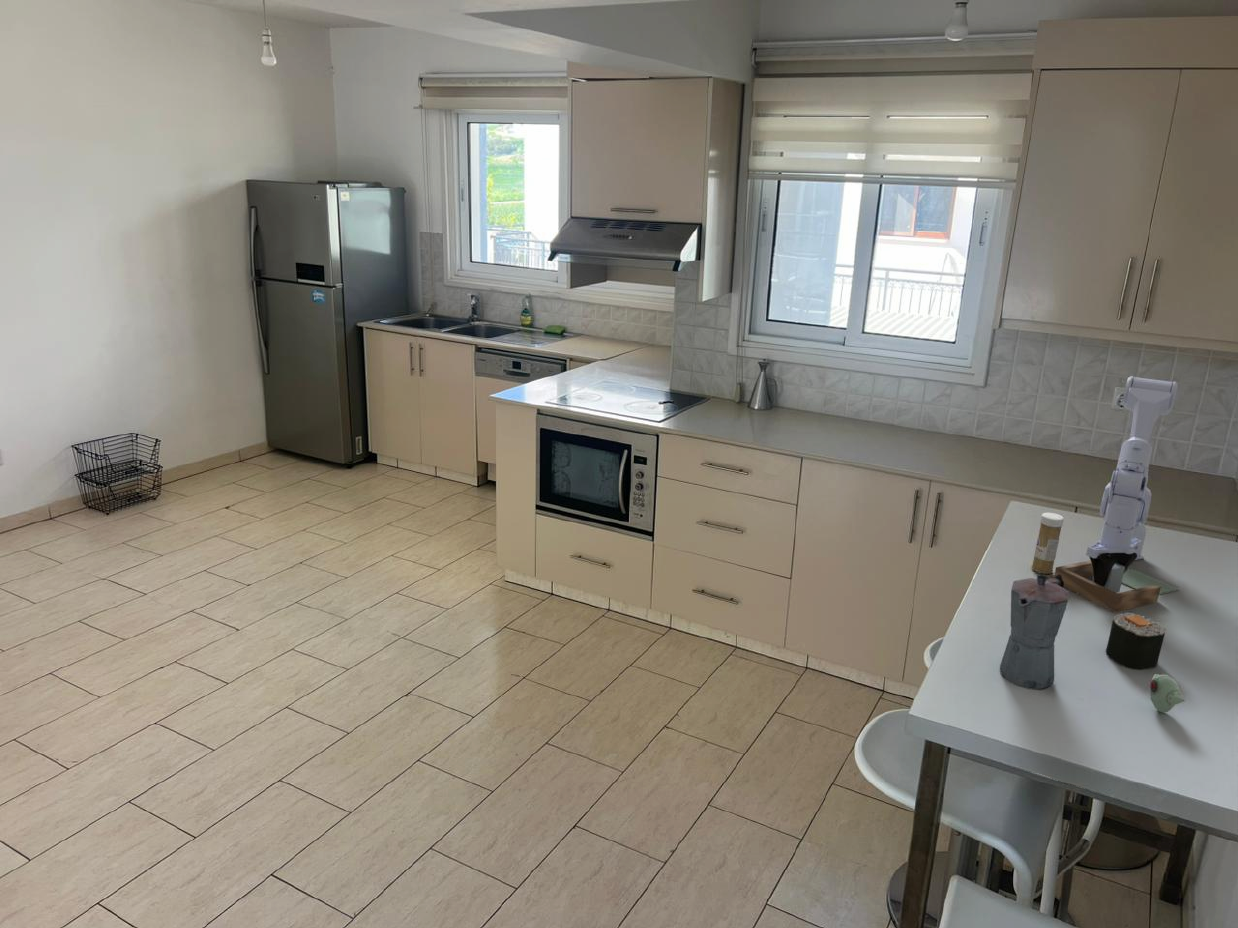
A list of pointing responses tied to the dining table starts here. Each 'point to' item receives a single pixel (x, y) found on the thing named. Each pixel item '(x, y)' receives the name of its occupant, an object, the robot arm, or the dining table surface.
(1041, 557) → the sprinkles bottle
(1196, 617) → the dining table surface
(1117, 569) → the slate block
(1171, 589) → the green mat
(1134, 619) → the sushi
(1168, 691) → the pale green rounded piece
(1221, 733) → the dining table surface
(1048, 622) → the moka pot
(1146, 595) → the walnut stall
